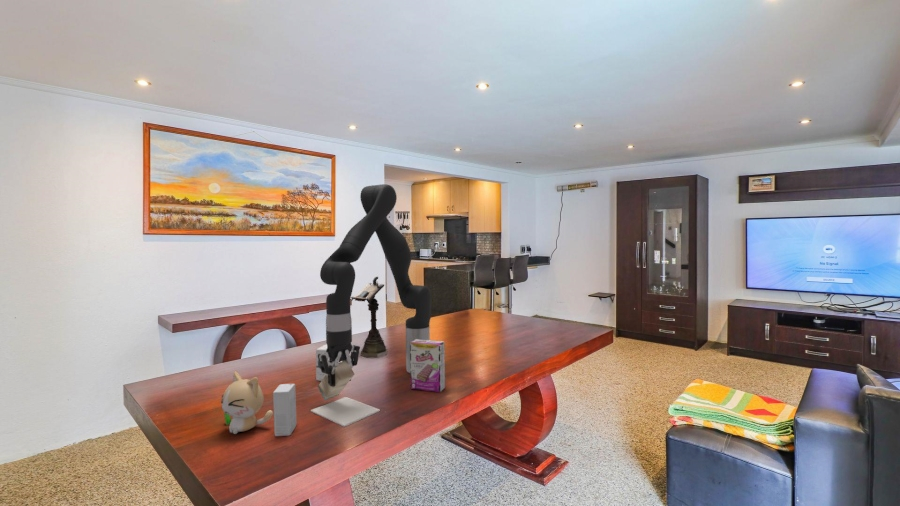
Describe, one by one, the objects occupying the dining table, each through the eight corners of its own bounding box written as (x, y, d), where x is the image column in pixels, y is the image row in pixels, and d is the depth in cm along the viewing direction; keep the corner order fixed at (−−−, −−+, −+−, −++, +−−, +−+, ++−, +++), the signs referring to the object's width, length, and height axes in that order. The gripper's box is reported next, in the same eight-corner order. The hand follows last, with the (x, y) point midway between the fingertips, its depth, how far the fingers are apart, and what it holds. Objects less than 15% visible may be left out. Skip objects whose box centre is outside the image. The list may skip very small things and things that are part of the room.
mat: (310, 411, 124) (310, 410, 124) (346, 398, 134) (346, 396, 134) (344, 426, 114) (344, 425, 114) (380, 411, 124) (380, 409, 124)
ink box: (327, 373, 159) (326, 343, 159) (339, 373, 158) (338, 343, 158) (315, 380, 151) (314, 349, 150) (328, 381, 150) (327, 349, 149)
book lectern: (364, 362, 172) (362, 278, 170) (346, 356, 180) (344, 277, 179) (395, 353, 184) (393, 275, 183) (376, 348, 193) (375, 274, 191)
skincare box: (281, 426, 115) (279, 383, 114) (296, 425, 115) (295, 383, 115) (273, 436, 109) (272, 392, 108) (290, 435, 109) (289, 391, 109)
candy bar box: (410, 389, 141) (409, 342, 140) (415, 384, 146) (415, 338, 145) (440, 393, 137) (440, 344, 137) (445, 387, 142) (445, 340, 142)
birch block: (317, 386, 129) (333, 364, 123) (331, 381, 132) (347, 360, 127) (324, 400, 126) (340, 378, 121) (338, 395, 130) (354, 374, 125)
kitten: (209, 429, 113) (207, 376, 113) (243, 416, 122) (242, 365, 121) (241, 443, 106) (239, 385, 105) (275, 427, 114) (274, 374, 113)
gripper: (325, 334, 117) (327, 393, 117) (365, 325, 128) (366, 379, 128) (310, 330, 121) (312, 387, 122) (350, 322, 133) (351, 374, 133)
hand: (340, 383), depth 125 cm, fingers closed on birch block, 5 cm apart
